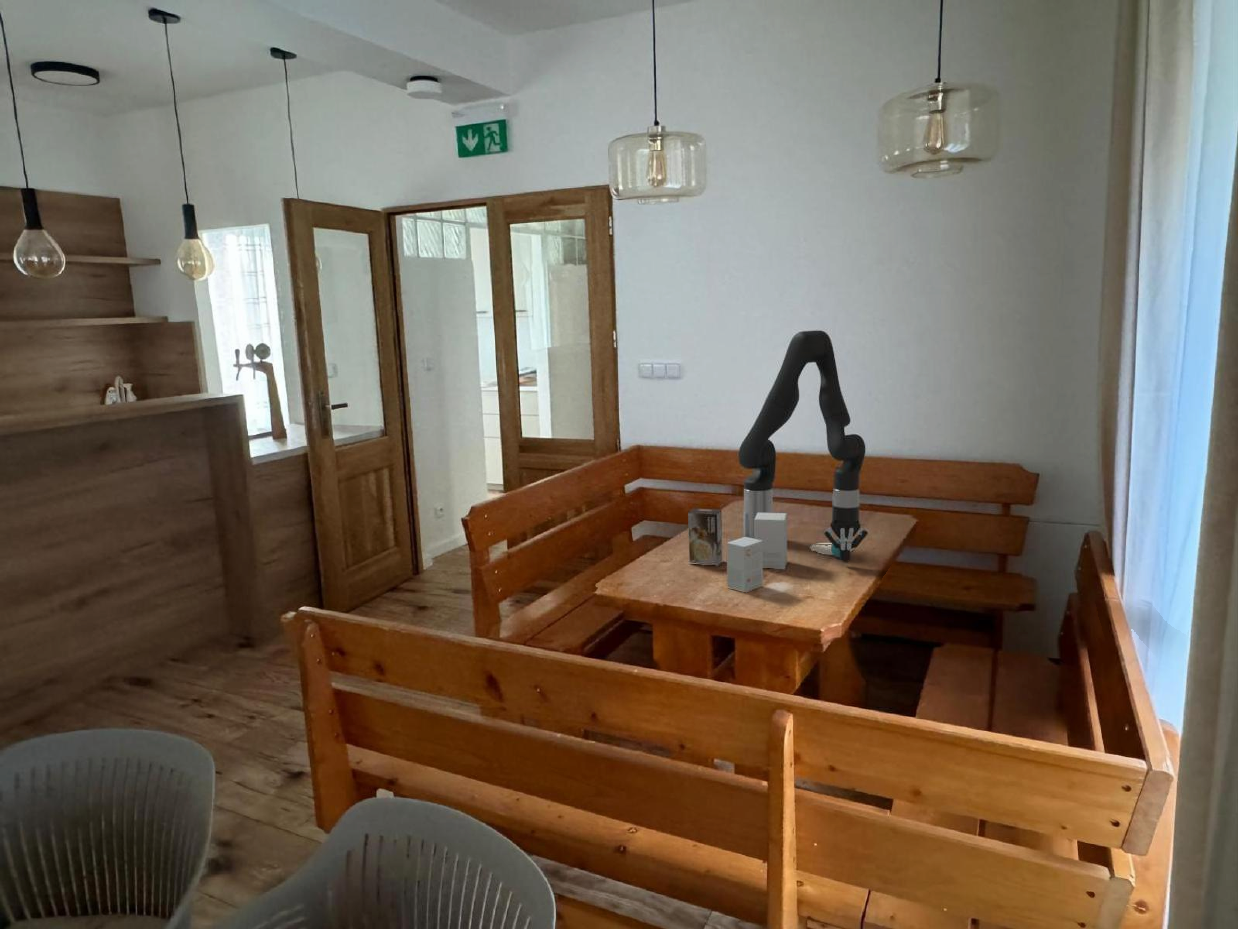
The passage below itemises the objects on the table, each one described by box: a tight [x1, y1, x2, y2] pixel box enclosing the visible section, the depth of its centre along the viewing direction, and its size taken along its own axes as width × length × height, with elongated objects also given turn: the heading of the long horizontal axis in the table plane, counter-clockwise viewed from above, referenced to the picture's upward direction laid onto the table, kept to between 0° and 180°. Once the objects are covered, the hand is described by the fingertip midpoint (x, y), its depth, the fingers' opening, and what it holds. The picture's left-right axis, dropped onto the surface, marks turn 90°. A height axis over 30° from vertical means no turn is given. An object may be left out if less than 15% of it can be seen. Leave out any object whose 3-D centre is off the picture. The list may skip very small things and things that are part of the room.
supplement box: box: [754, 512, 788, 570], centre depth 240 cm, size 9×9×15 cm
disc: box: [809, 542, 854, 556], centre depth 256 cm, size 13×13×1 cm
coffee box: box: [687, 507, 723, 566], centre depth 244 cm, size 9×6×16 cm
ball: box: [831, 539, 840, 559], centre depth 246 cm, size 6×6×6 cm
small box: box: [726, 536, 764, 593], centre depth 221 cm, size 8×6×13 cm
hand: (844, 561), depth 238 cm, fingers closed
